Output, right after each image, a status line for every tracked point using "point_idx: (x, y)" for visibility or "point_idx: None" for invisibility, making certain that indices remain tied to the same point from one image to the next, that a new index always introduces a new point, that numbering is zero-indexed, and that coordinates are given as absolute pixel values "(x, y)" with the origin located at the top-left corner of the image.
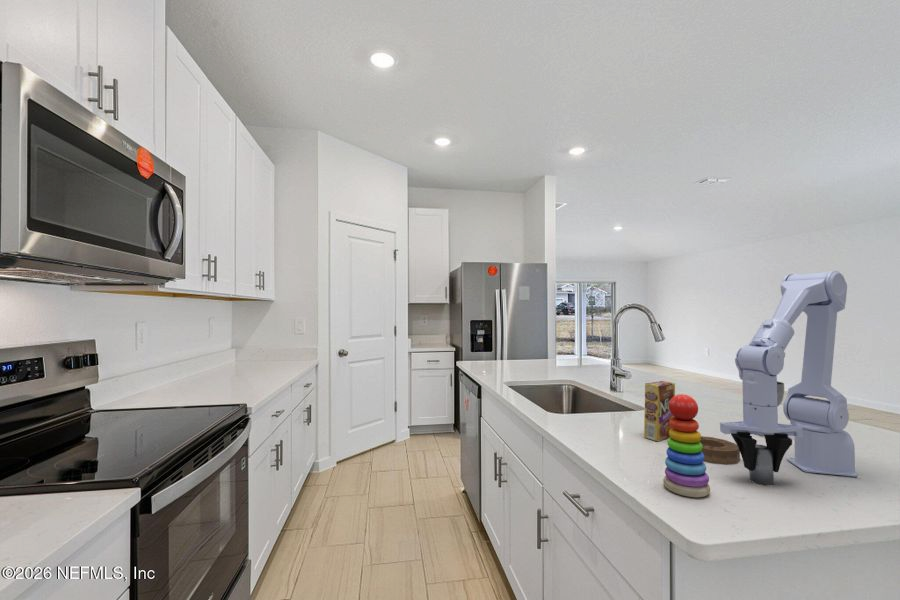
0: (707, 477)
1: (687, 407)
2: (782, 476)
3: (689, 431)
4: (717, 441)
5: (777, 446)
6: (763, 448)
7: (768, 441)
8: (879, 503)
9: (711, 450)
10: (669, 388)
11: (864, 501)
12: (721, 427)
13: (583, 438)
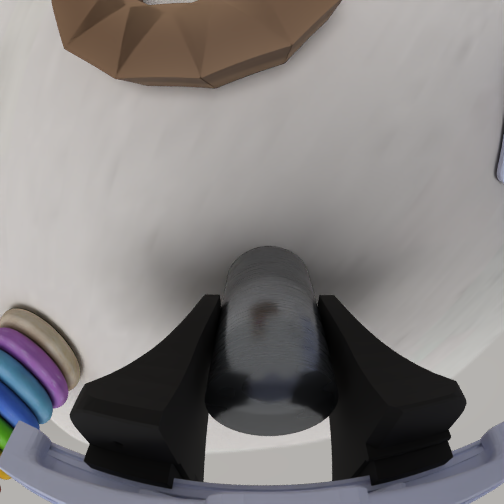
0: (61, 403)
1: None
2: (397, 218)
3: None
4: None
5: (333, 449)
6: (275, 417)
7: (359, 404)
8: (462, 358)
9: (115, 78)
10: None
11: (446, 358)
12: (17, 452)
13: None
